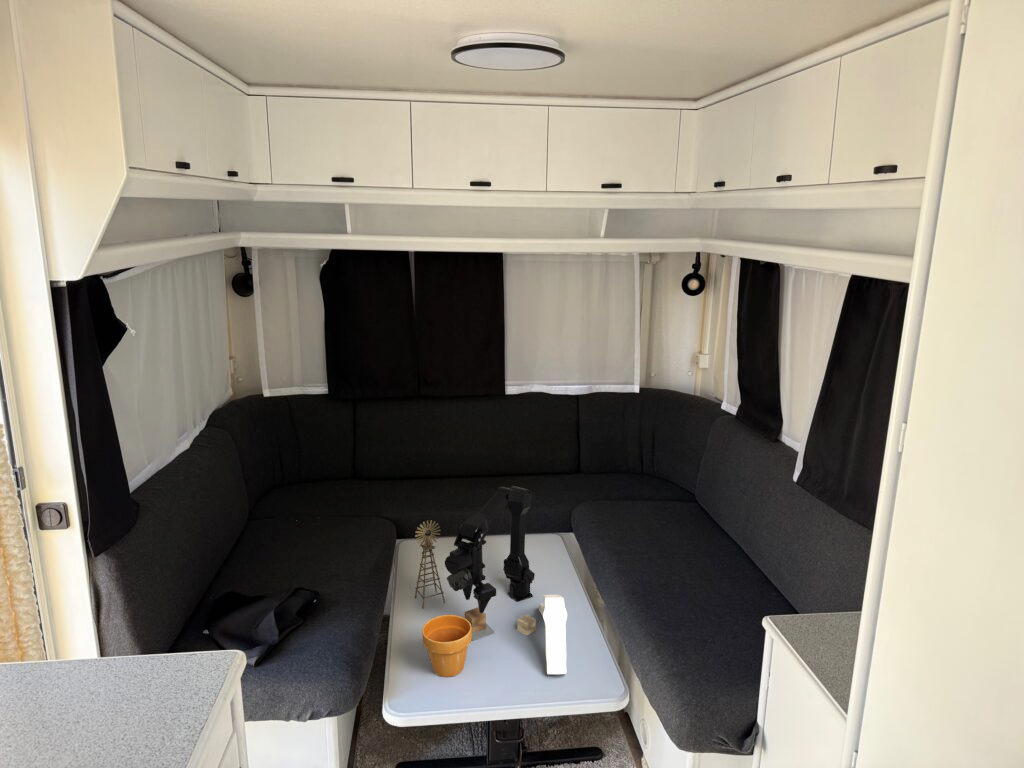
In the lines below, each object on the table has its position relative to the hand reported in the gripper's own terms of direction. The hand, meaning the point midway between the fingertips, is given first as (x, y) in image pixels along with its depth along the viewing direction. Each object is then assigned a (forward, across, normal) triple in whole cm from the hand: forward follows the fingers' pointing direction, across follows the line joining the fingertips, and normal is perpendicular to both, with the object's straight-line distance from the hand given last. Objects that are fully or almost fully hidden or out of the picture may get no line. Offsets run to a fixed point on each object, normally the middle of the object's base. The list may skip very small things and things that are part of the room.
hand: (474, 606), depth 219 cm
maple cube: (+8, +9, +14) cm, 18 cm away
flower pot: (+9, +13, -16) cm, 22 cm away
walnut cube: (+8, 0, 0) cm, 8 cm away
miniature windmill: (+9, -24, -5) cm, 26 cm away
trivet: (+8, 0, 0) cm, 8 cm away
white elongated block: (+9, +19, +17) cm, 27 cm away
